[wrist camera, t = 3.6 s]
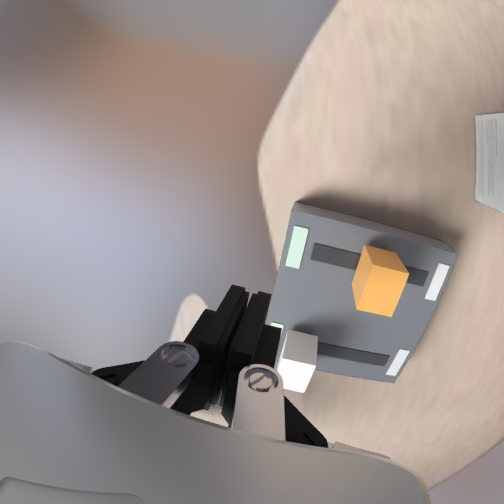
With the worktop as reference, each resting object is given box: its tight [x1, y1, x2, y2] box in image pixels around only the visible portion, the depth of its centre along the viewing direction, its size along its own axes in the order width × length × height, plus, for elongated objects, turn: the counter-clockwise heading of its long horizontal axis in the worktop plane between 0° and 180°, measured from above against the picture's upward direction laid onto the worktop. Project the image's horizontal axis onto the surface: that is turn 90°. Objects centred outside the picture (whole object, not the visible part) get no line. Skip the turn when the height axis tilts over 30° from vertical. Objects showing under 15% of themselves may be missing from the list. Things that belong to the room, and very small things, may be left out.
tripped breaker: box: [352, 245, 409, 317], centre depth 17 cm, size 3×2×4 cm
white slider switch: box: [277, 329, 318, 393], centre depth 21 cm, size 3×2×4 cm
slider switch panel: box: [266, 202, 458, 383], centre depth 22 cm, size 13×13×3 cm
